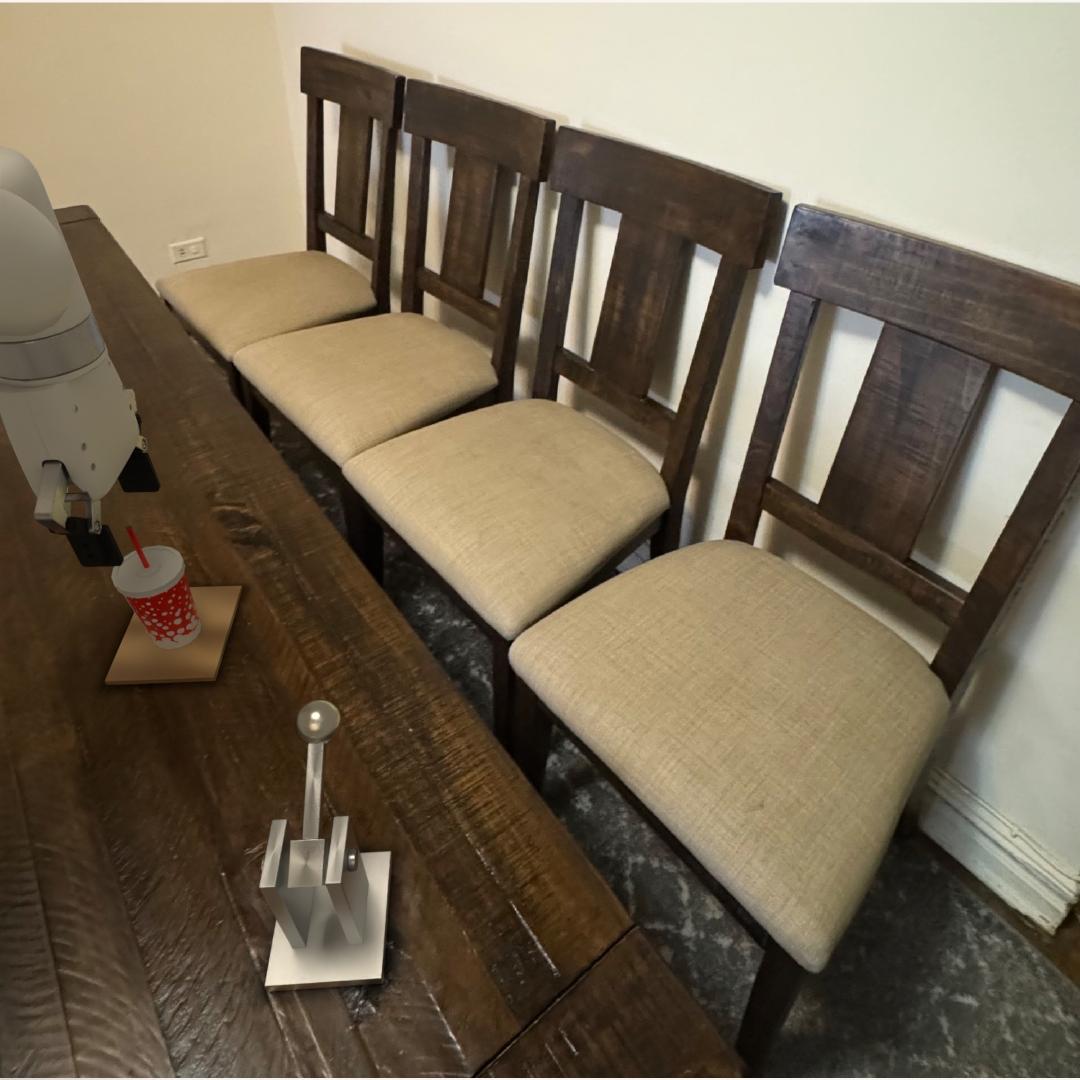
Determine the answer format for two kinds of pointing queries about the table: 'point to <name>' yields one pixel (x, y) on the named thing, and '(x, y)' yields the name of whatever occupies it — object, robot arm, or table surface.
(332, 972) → the faucet base
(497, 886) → the table surface
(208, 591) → the drip mat
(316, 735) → the grey lever handle
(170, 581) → the beverage cup
